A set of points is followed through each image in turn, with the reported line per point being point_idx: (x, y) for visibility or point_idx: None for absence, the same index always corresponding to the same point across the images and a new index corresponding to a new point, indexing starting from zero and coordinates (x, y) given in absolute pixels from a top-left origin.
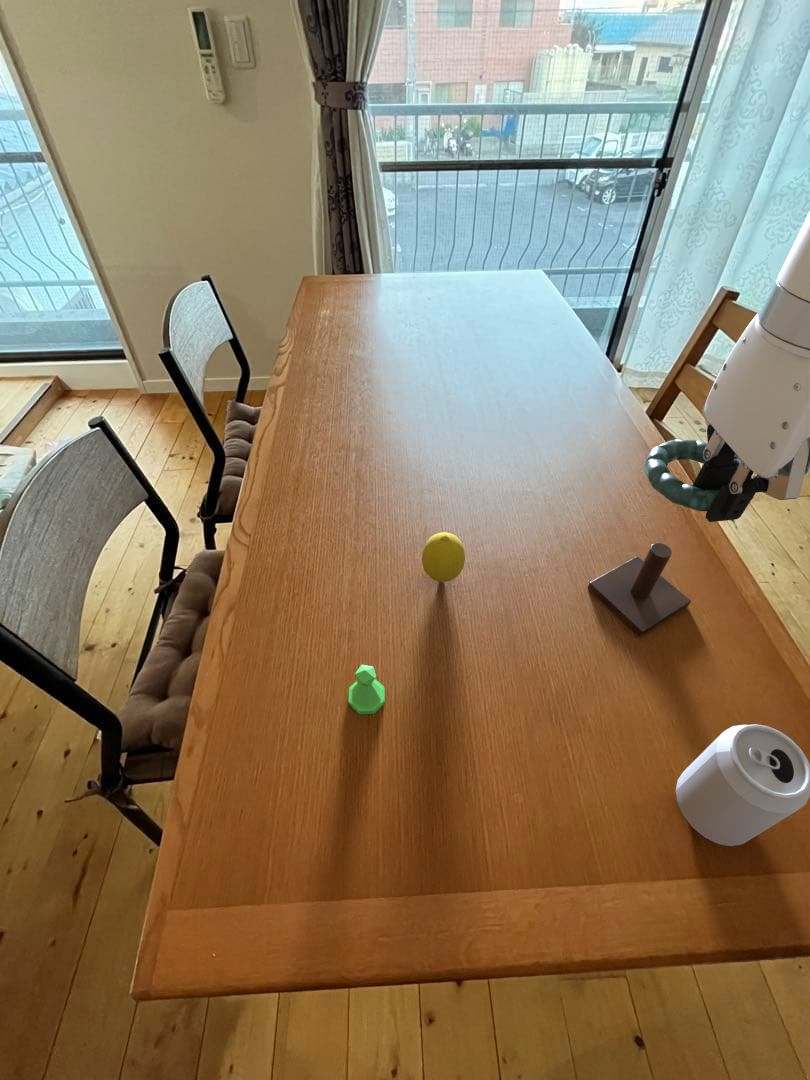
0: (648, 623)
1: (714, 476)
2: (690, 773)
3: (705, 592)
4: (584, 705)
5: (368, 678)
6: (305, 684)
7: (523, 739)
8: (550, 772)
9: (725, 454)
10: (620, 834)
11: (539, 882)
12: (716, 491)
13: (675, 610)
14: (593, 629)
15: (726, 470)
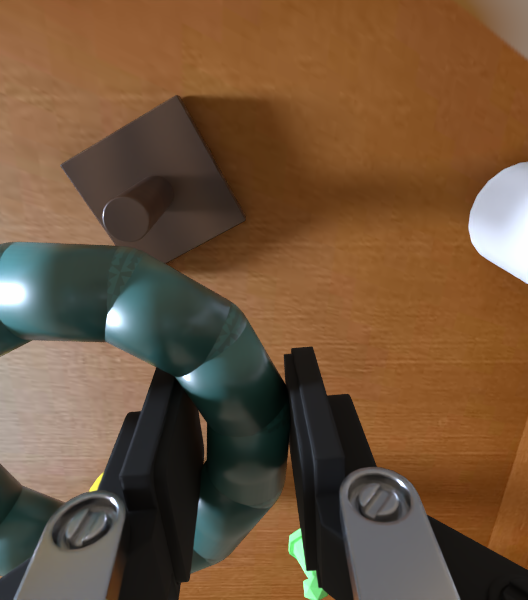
0: (228, 203)
1: (186, 504)
2: (514, 275)
3: (140, 35)
4: (350, 330)
5: (324, 591)
6: (286, 586)
7: (382, 406)
8: (425, 386)
9: (131, 594)
10: (508, 331)
11: (523, 416)
12: (242, 472)
13: (200, 139)
14: (227, 285)
15: (176, 498)
